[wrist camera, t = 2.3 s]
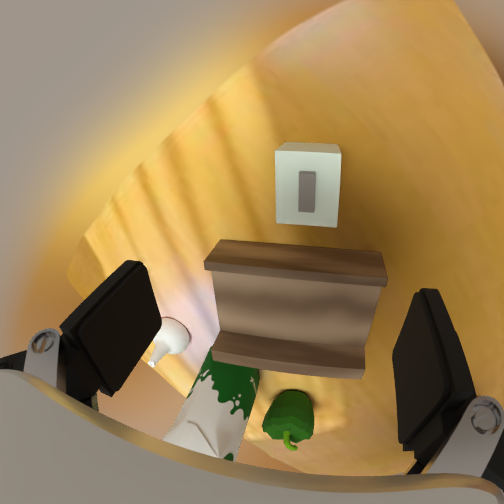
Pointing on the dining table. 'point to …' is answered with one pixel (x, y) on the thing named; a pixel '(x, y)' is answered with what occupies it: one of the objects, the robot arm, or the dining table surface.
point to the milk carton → (216, 410)
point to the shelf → (295, 306)
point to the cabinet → (307, 183)
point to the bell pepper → (290, 418)
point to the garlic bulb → (169, 340)
